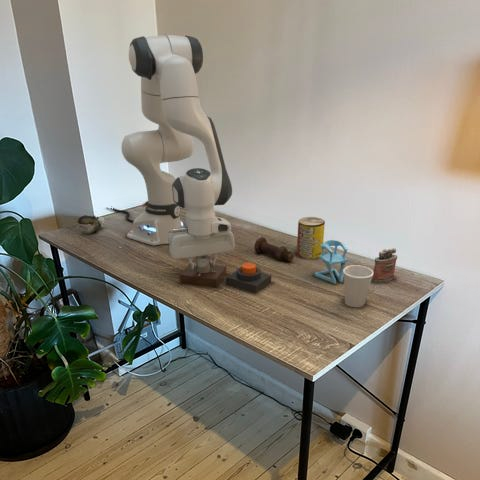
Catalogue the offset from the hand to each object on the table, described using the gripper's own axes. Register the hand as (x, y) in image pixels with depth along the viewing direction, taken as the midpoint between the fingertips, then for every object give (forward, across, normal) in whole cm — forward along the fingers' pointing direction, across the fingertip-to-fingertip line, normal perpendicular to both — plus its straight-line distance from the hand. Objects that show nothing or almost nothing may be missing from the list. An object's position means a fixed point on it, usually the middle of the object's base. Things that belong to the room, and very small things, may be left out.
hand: (203, 267), depth 156 cm
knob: (+1, 0, 0) cm, 1 cm away
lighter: (+4, +53, -19) cm, 57 cm away
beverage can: (+4, +41, +8) cm, 42 cm away
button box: (+4, +12, -8) cm, 15 cm away
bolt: (+4, +28, +9) cm, 30 cm away
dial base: (+4, 0, 0) cm, 4 cm away
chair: (+4, +38, -13) cm, 41 cm away
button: (0, +12, -8) cm, 15 cm away
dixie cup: (+4, +37, -30) cm, 48 cm away
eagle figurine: (+4, -30, +58) cm, 66 cm away
